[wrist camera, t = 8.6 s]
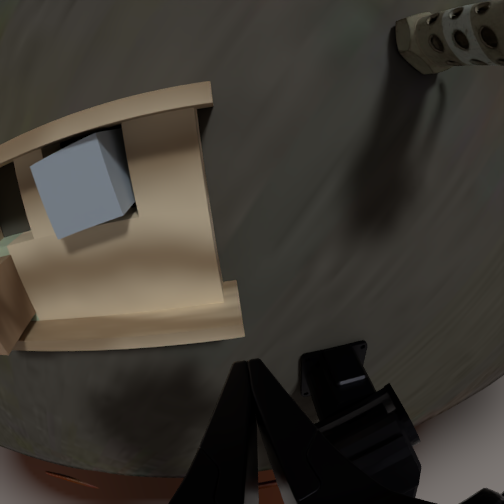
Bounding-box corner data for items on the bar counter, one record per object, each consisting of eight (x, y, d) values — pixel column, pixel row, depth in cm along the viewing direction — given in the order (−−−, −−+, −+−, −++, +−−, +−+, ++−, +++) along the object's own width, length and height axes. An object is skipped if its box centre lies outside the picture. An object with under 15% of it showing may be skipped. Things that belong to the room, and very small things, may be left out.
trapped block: (142, 192, 18) (123, 215, 14) (86, 213, 18) (58, 239, 14) (122, 128, 16) (95, 132, 12) (65, 153, 16) (29, 166, 12)
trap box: (238, 291, 22) (245, 336, 17) (12, 315, 20) (-11, 348, 16) (211, 91, 16) (210, 81, 11) (-38, 174, 14) (-76, 192, 10)
